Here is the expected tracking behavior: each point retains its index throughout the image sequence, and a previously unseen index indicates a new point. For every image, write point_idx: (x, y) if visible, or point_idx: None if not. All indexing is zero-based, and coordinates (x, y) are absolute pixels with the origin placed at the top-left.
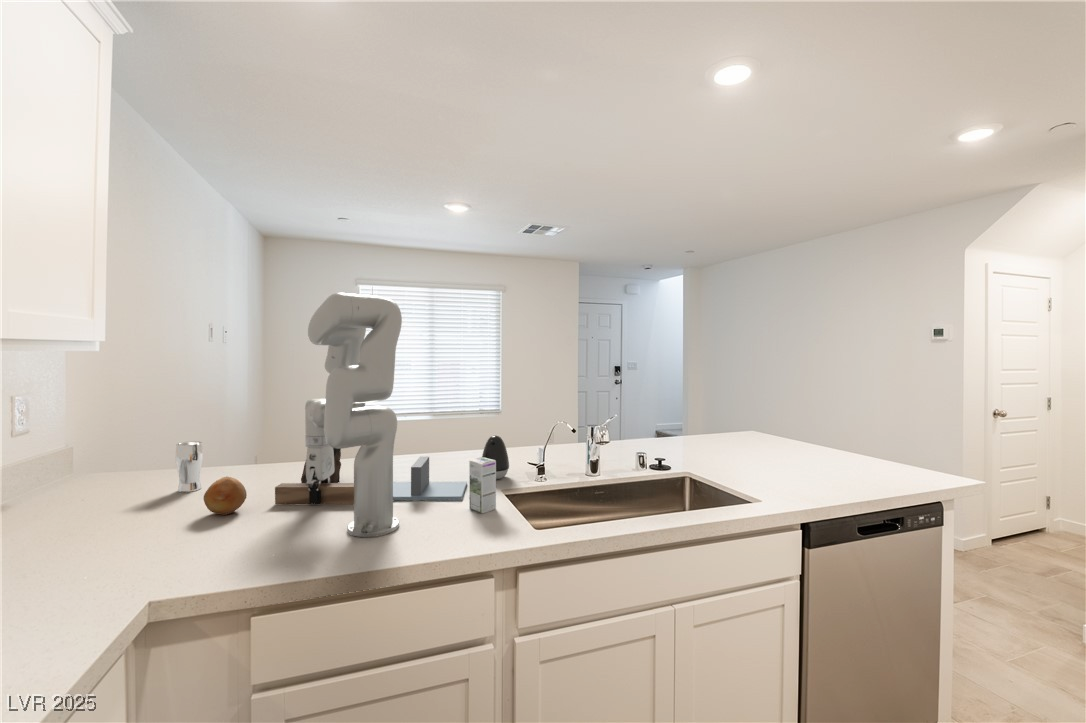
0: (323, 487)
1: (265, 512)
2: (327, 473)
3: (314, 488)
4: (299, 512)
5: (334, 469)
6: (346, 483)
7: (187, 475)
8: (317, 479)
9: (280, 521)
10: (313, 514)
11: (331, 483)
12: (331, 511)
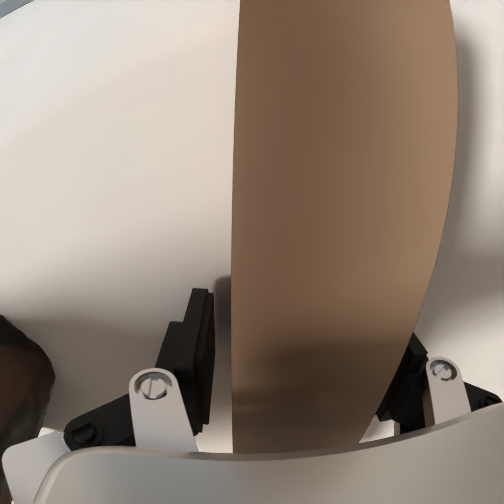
0: (396, 362)
1: (382, 437)
2: (467, 485)
3: (475, 389)
4: (439, 339)
5: (56, 485)
6: (277, 92)
7: None
8: (40, 421)
9: (496, 348)
10: (488, 261)
11: (254, 343)
12: (477, 175)
